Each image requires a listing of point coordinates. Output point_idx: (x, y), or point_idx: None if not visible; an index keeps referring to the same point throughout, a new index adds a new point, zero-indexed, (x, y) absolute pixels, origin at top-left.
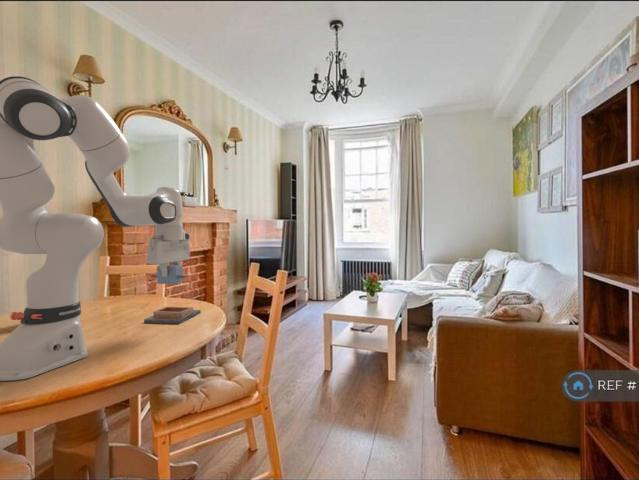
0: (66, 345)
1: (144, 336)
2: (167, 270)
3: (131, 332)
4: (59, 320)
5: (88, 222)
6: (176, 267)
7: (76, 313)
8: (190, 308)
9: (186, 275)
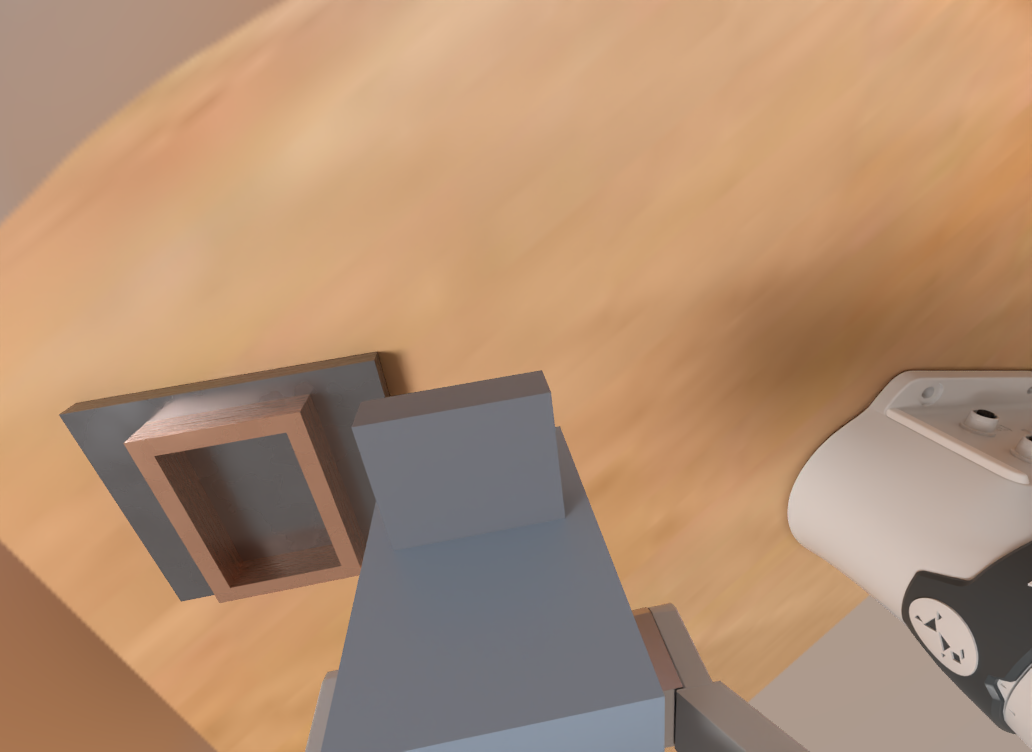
0: (996, 433)
1: (634, 362)
2: (685, 699)
3: (587, 467)
4: None
5: None
6: (630, 673)
7: None
8: (164, 436)
9: (433, 407)
